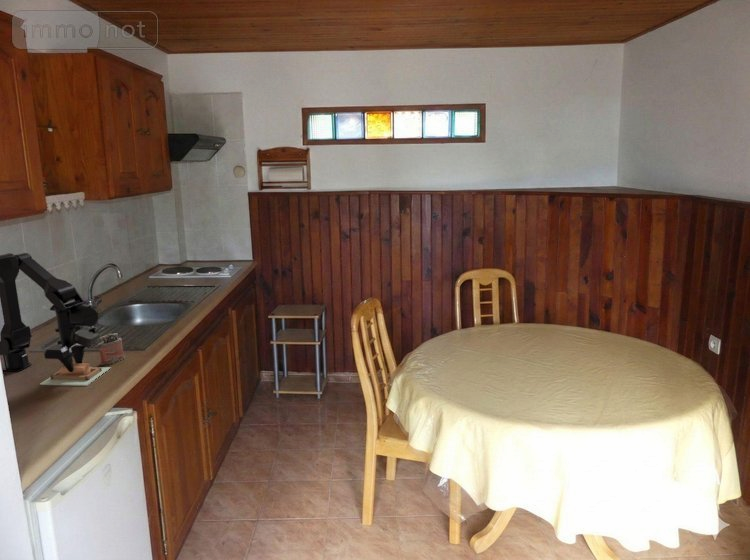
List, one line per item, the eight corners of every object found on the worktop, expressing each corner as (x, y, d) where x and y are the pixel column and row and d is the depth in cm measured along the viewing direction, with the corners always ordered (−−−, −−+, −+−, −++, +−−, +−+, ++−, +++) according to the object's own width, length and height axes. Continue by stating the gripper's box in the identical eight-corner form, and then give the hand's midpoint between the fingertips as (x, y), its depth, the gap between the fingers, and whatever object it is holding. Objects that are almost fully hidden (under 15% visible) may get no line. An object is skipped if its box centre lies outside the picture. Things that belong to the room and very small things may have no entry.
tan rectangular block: (84, 377, 188) (83, 367, 187) (61, 377, 189) (60, 367, 188) (91, 373, 191) (89, 363, 190) (68, 372, 192) (66, 363, 191)
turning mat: (39, 384, 184) (39, 380, 184) (67, 367, 198) (66, 363, 197) (86, 385, 182) (85, 381, 182) (111, 368, 196) (110, 364, 195)
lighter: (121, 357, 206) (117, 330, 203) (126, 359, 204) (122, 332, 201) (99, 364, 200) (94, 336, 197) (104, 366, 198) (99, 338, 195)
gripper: (72, 333, 176) (81, 381, 179) (107, 314, 193) (114, 358, 197) (39, 333, 177) (47, 380, 181) (76, 314, 195) (83, 358, 199)
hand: (75, 369), depth 189 cm, fingers open, 4 cm apart
